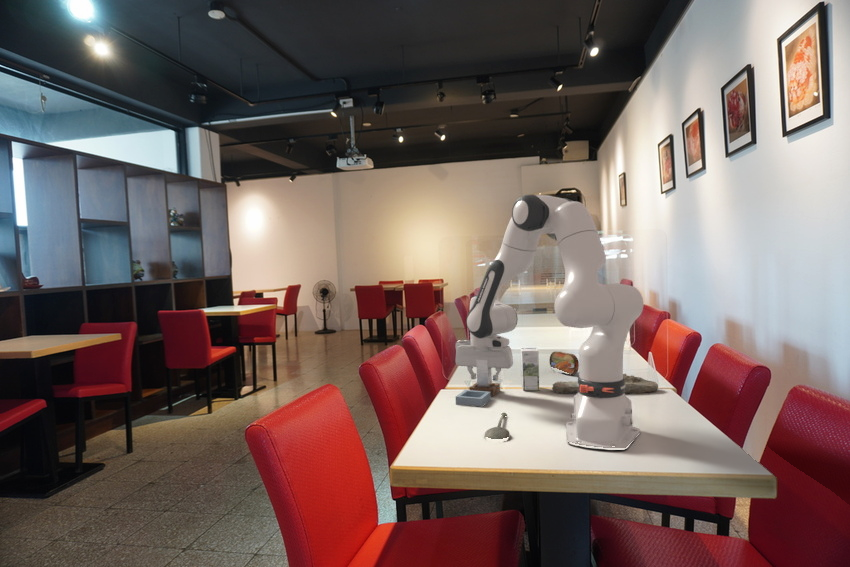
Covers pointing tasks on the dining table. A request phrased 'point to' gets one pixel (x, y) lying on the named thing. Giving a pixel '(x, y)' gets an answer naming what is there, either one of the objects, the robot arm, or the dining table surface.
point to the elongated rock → (631, 385)
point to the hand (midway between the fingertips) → (484, 379)
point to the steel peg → (483, 374)
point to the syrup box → (530, 369)
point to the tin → (564, 362)
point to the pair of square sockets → (477, 395)
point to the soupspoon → (498, 430)
